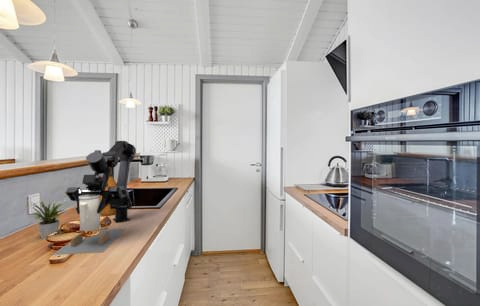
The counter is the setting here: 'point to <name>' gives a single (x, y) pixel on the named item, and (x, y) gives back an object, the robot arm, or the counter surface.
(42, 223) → the house plant
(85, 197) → the white mug
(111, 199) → the robot arm
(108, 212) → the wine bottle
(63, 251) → the holder
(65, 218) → the counter surface
